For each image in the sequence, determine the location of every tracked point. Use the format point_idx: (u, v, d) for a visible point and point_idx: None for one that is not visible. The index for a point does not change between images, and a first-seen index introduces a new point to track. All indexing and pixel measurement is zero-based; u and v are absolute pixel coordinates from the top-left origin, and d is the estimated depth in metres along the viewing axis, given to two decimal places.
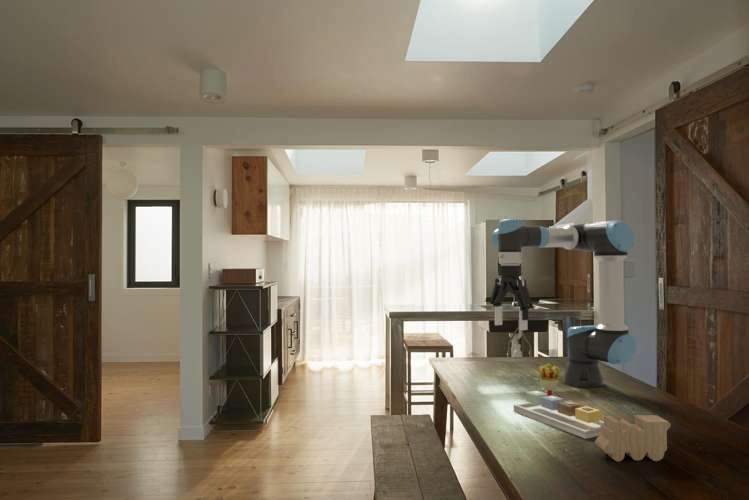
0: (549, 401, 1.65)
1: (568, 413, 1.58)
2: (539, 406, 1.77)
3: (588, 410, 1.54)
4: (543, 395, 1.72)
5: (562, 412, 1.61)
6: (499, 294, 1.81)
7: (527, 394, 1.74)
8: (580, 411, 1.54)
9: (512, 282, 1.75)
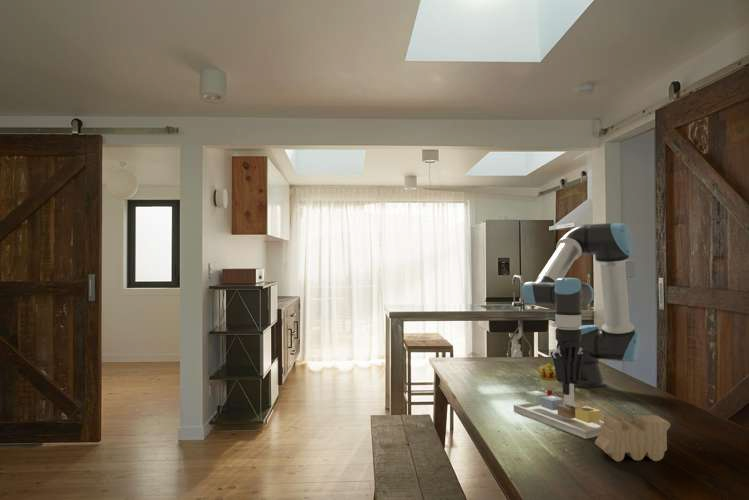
0: (549, 401, 1.65)
1: (568, 416, 1.58)
2: (539, 406, 1.77)
3: (588, 410, 1.54)
4: (543, 395, 1.72)
5: (562, 414, 1.61)
6: None
7: (527, 394, 1.74)
8: (580, 411, 1.54)
9: None
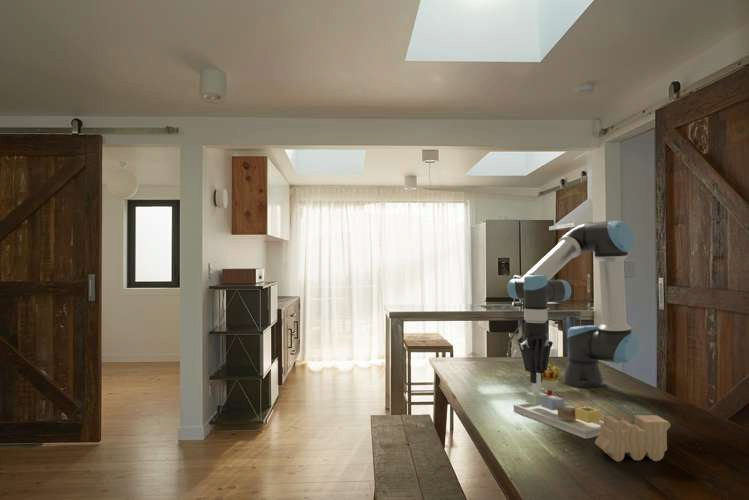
0: (549, 401, 1.65)
1: (568, 417, 1.58)
2: (539, 406, 1.77)
3: (588, 410, 1.54)
4: (543, 396, 1.72)
5: (562, 416, 1.61)
6: None
7: (527, 395, 1.74)
8: (580, 411, 1.54)
9: None
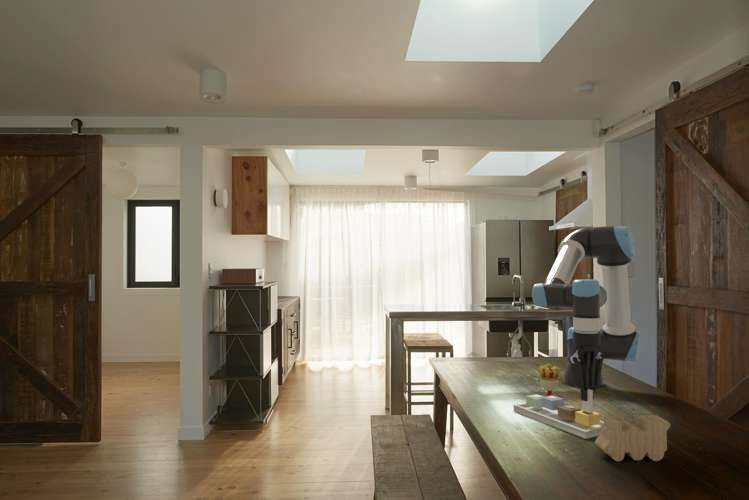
0: (549, 401, 1.65)
1: (568, 417, 1.58)
2: None
3: (588, 413, 1.54)
4: None
5: (562, 416, 1.61)
6: None
7: (527, 398, 1.74)
8: (580, 414, 1.54)
9: None
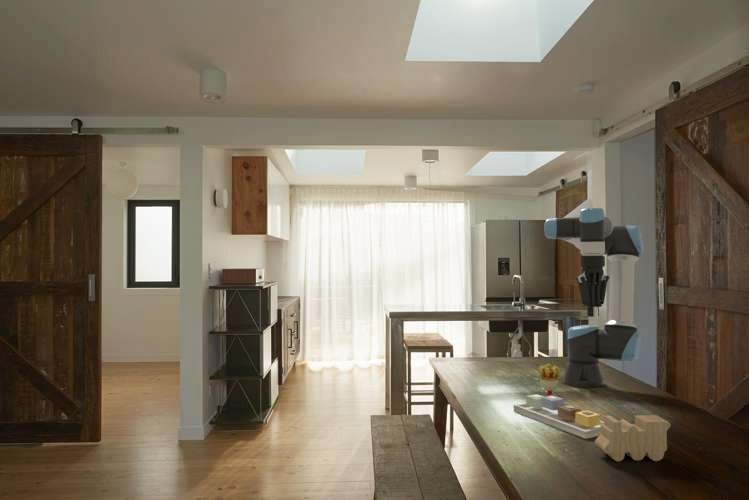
0: (549, 401, 1.65)
1: (568, 417, 1.58)
2: None
3: (588, 414, 1.54)
4: None
5: (562, 416, 1.61)
6: None
7: (527, 398, 1.74)
8: (580, 415, 1.54)
9: None
